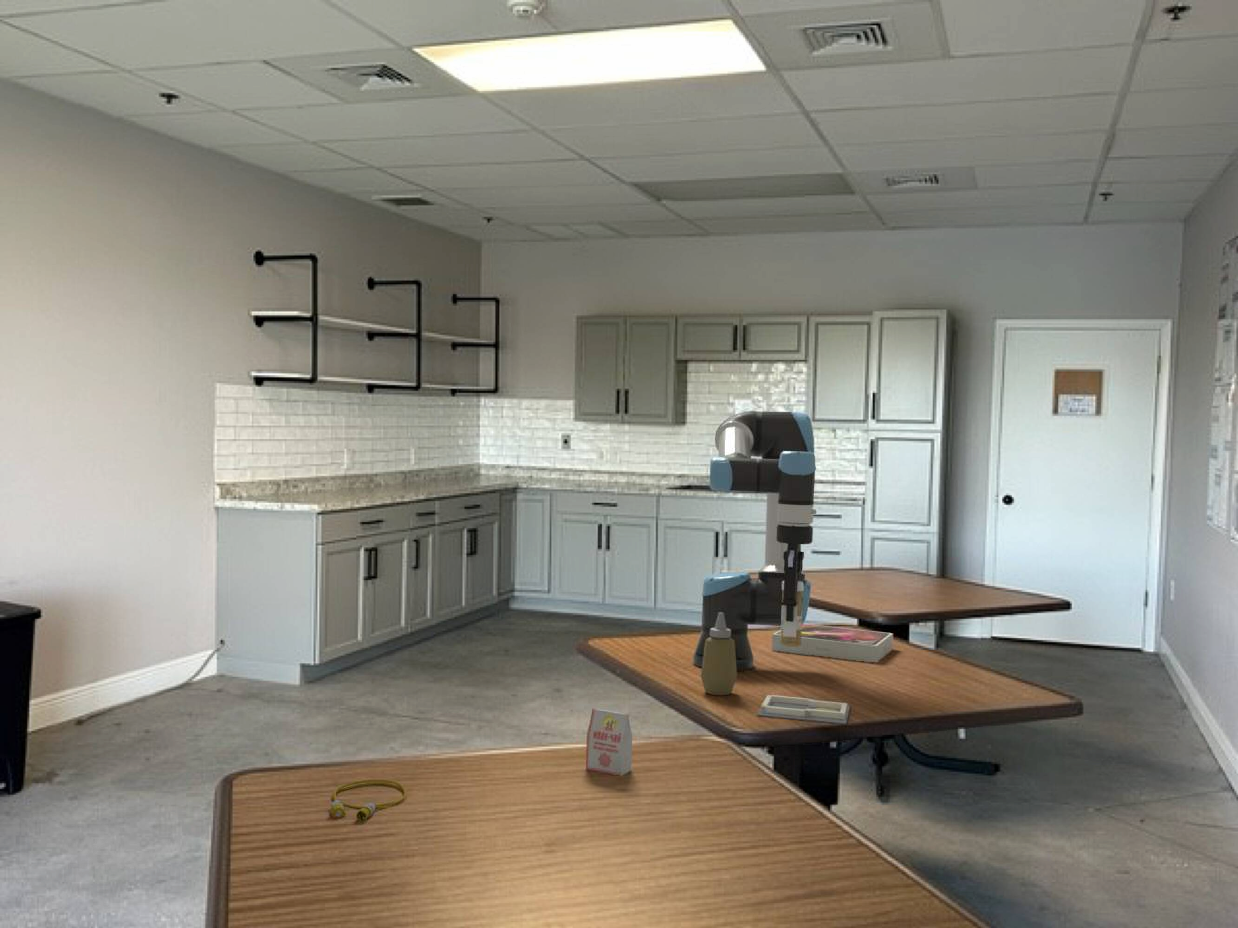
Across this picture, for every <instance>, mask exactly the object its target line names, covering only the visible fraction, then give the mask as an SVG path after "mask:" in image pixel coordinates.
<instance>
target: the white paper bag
mask: <svg viewBox="0 0 1238 928" xmlns="http://www.w3.org/2000/svg"><path fill="white" fill-rule="evenodd" d="M629 717H630V715H629V713H622V712H617V711H611V710H605V709H600V708H599V709H597V708H592V709H591V715H590V719H589V725H588V729H587V733H586V749H585V750H586V751H585V752H586V753H585V770H589V771H594V772H599V773H603V774H608V775H613V776H618V777H622V776H624V775H626V774H628V773H629V772H631V771H632V758H633V757H632V752H633V750H632V749H633V734H632V729H631V725H630V719H629Z"/></svg>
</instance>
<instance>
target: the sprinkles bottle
mask: <svg viewBox="0 0 1238 928" xmlns="http://www.w3.org/2000/svg"><path fill="white" fill-rule="evenodd" d="M782 590H783V591H782V592H783V594H782V602H783V598H784V581H783V582H782ZM803 591H804V583H803V582H801V581H798V585H797V605H796V606H797V628H796V637H785V636H783V617H784V605H782V611H781V626H780V630H781V641H780V643H781V644H782V645H786V646H799V645H801V644H802V642H801V629H802V593H803Z"/></svg>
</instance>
